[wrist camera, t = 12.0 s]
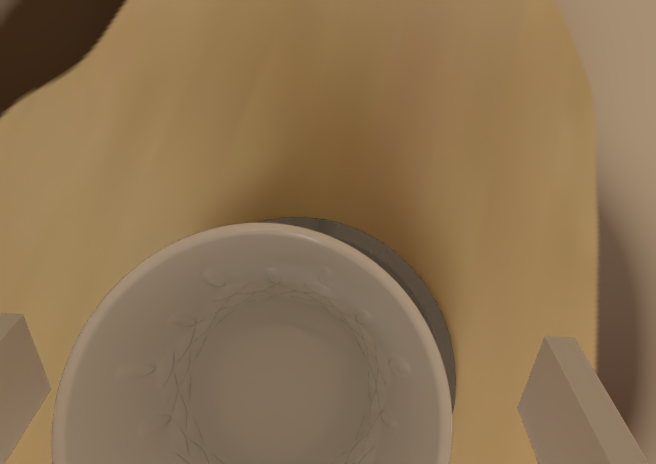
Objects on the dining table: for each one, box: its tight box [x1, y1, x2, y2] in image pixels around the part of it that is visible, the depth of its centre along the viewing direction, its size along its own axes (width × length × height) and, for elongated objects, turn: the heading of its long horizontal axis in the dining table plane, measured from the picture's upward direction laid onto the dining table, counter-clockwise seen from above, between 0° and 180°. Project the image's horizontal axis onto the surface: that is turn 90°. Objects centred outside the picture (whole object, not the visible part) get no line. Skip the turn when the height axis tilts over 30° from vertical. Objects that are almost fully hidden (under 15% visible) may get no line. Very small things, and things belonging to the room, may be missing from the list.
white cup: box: [52, 223, 453, 464], centre depth 14 cm, size 8×8×10 cm
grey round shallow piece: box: [258, 217, 456, 414], centre depth 21 cm, size 15×15×4 cm
